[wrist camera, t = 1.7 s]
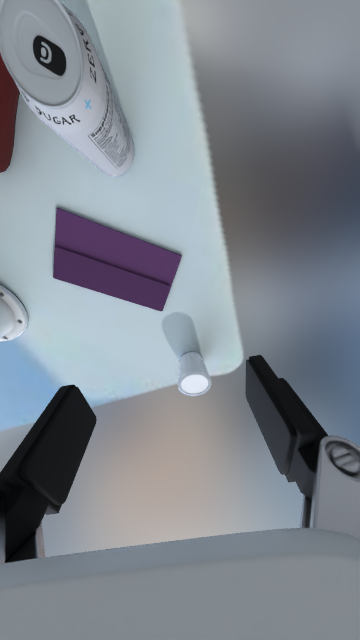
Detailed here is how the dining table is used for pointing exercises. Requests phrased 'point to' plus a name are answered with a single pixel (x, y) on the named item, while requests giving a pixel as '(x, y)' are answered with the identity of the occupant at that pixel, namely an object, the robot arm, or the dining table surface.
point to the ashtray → (7, 114)
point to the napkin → (112, 261)
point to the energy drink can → (65, 80)
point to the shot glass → (193, 375)
